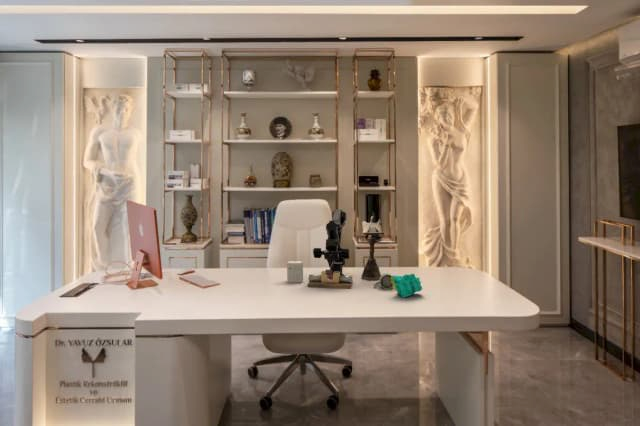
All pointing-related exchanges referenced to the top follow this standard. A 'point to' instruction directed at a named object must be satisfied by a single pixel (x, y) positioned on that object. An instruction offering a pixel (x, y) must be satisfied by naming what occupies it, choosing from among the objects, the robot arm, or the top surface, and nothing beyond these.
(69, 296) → the top surface
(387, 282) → the ceramic mug
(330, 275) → the lever
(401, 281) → the teal lumpy block
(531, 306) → the top surface
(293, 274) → the small box
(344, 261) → the robot arm
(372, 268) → the bird statue
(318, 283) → the walnut board
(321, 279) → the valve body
